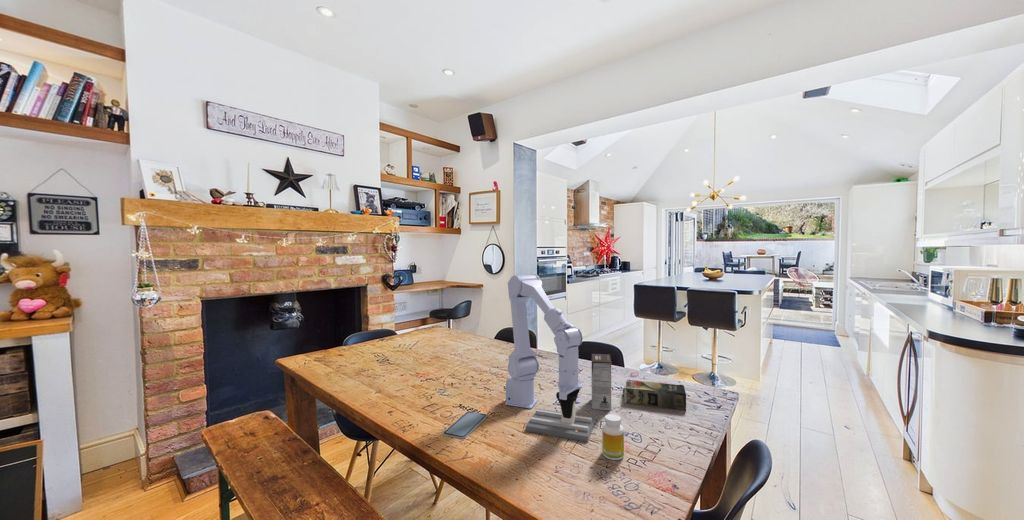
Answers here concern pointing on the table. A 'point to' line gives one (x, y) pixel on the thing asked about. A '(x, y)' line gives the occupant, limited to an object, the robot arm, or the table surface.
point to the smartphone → (465, 425)
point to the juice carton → (655, 394)
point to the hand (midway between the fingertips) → (568, 414)
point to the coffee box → (601, 381)
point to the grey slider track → (560, 425)
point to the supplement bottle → (613, 437)
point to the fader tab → (572, 419)
